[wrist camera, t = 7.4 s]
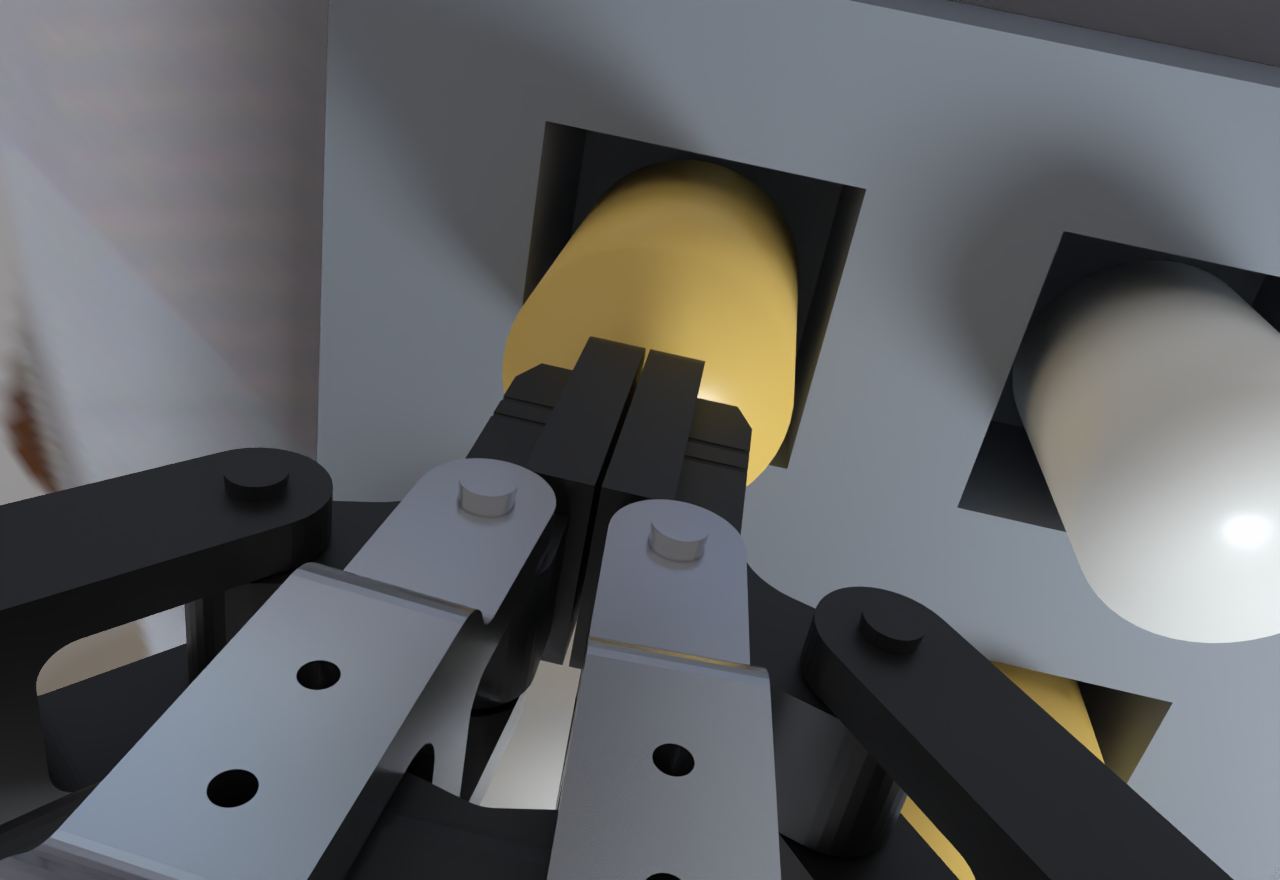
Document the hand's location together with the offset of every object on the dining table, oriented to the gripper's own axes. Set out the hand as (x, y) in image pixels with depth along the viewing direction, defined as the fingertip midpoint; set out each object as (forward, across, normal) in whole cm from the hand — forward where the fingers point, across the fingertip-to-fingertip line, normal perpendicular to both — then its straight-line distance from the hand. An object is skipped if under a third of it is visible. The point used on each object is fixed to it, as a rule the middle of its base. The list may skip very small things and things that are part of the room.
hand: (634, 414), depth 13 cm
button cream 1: (+6, -8, 0) cm, 10 cm away
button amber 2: (+6, 0, 0) cm, 6 cm away
